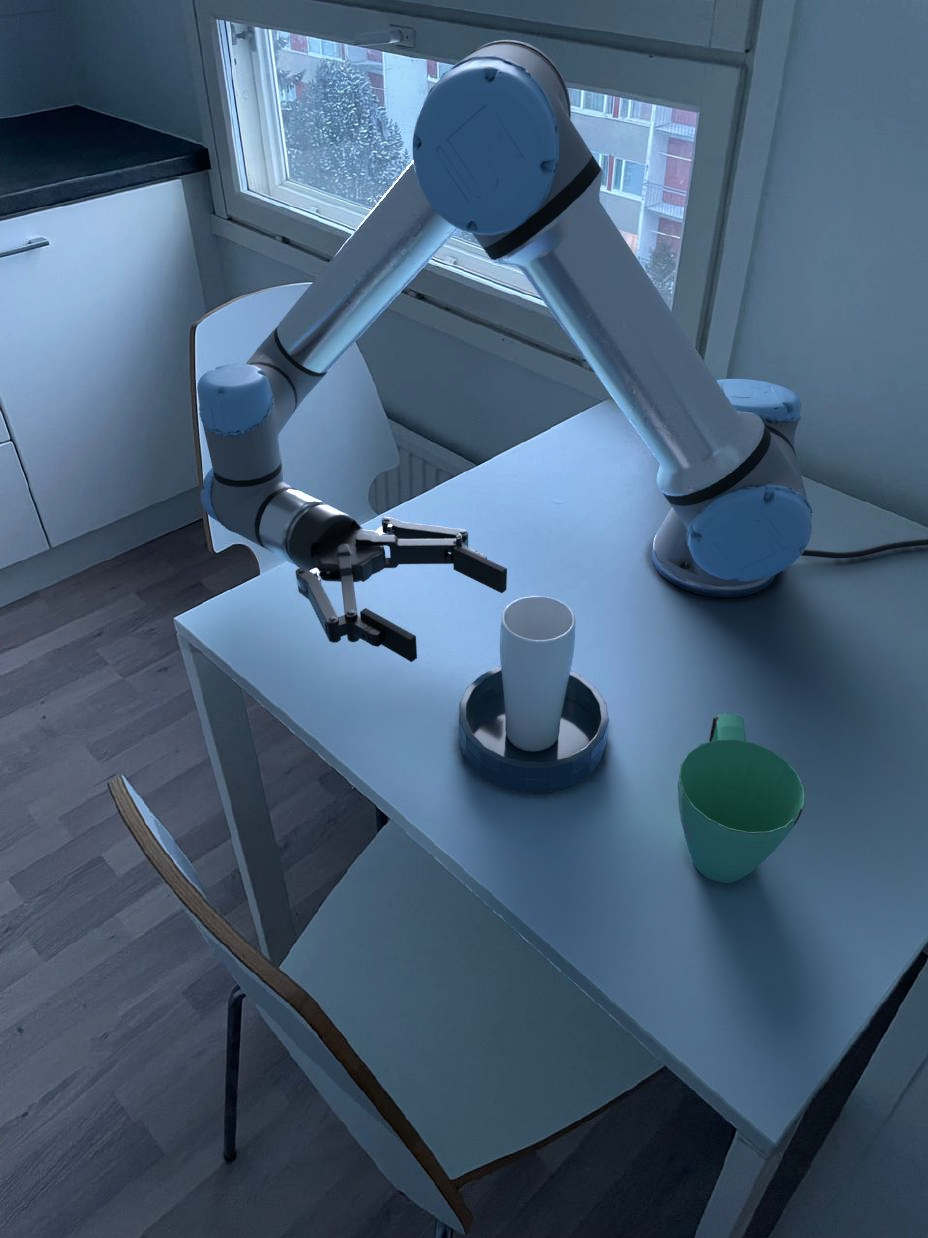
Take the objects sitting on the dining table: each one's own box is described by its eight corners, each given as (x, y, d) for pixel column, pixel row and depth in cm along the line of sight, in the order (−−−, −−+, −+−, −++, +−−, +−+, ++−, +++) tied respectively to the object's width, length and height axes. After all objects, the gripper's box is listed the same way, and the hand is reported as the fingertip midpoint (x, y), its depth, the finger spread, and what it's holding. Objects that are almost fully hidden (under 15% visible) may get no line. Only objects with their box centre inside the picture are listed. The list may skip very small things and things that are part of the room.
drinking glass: (546, 770, 85) (554, 652, 76) (485, 743, 88) (486, 626, 78) (577, 726, 89) (589, 609, 80) (518, 701, 92) (523, 586, 83)
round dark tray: (597, 687, 94) (600, 661, 92) (612, 793, 83) (616, 768, 81) (461, 686, 95) (460, 661, 92) (458, 793, 83) (457, 767, 81)
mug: (786, 915, 73) (815, 839, 67) (665, 902, 74) (682, 827, 68) (763, 778, 84) (786, 703, 78) (658, 769, 85) (672, 694, 79)
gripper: (393, 516, 107) (536, 584, 96) (226, 618, 92) (373, 711, 81) (389, 461, 102) (539, 526, 91) (213, 558, 87) (367, 649, 77)
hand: (461, 613), depth 86 cm, fingers open, 13 cm apart
